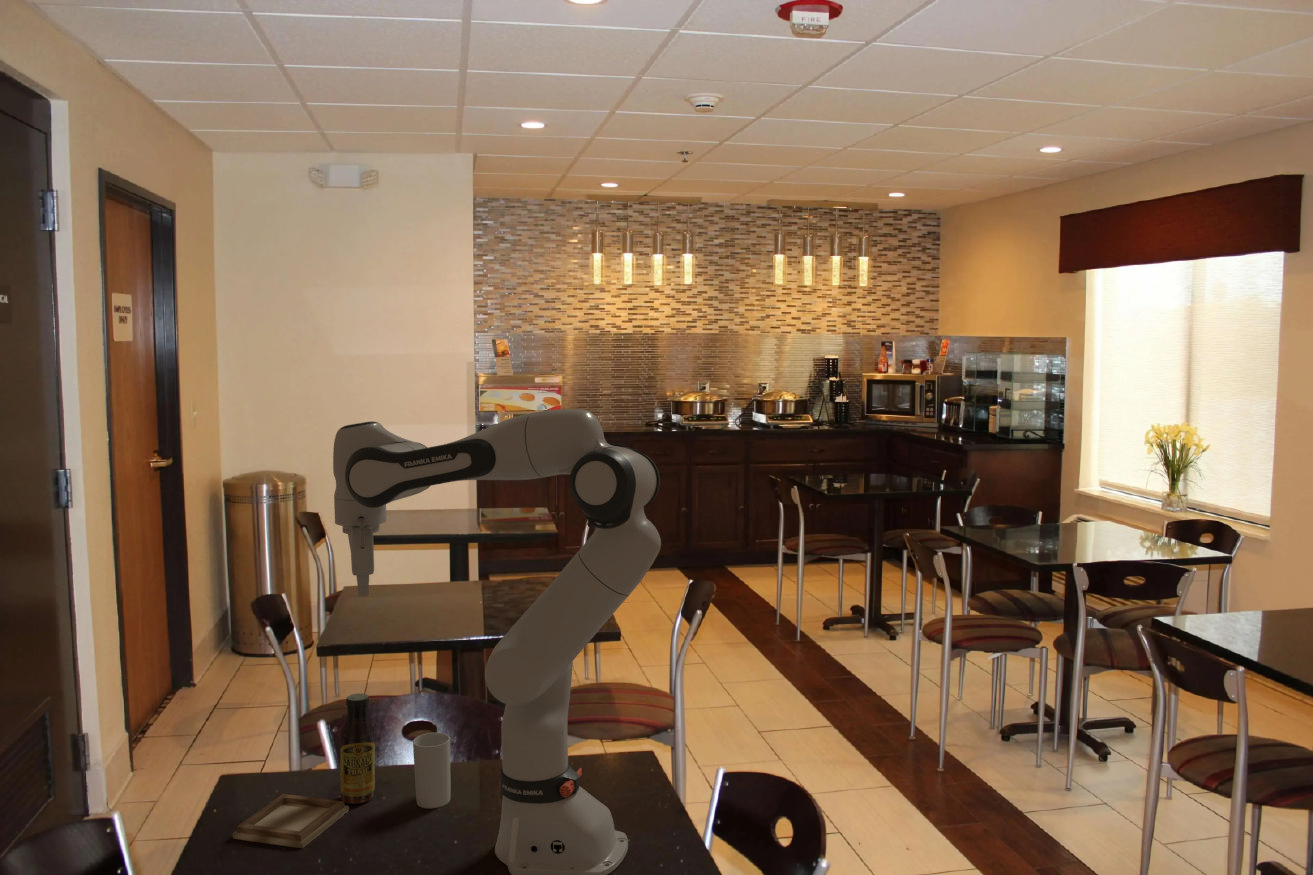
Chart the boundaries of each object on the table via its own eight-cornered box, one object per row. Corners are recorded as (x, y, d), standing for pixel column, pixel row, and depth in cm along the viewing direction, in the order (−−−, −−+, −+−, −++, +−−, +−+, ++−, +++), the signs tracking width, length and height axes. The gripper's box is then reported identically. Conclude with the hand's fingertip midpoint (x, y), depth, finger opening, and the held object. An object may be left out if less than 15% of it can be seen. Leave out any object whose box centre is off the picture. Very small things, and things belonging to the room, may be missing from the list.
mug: (446, 809, 183) (444, 746, 182) (410, 809, 183) (408, 746, 182) (459, 785, 193) (457, 725, 192) (425, 785, 193) (423, 725, 192)
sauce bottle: (341, 808, 184) (336, 704, 182) (340, 794, 190) (336, 693, 188) (377, 802, 186) (373, 700, 184) (376, 788, 192) (372, 689, 190)
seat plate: (348, 810, 183) (348, 800, 183) (302, 848, 170) (302, 837, 169) (283, 802, 187) (282, 792, 186) (233, 838, 173) (232, 827, 173)
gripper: (381, 522, 167) (383, 602, 169) (376, 502, 187) (378, 574, 188) (342, 524, 165) (344, 605, 167) (341, 504, 185) (343, 577, 186)
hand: (362, 588), depth 178 cm, fingers open, 8 cm apart
